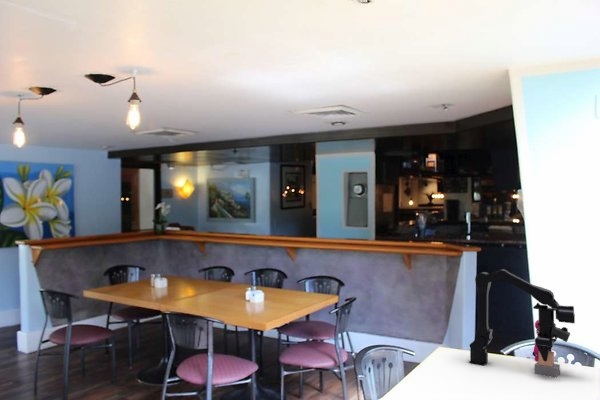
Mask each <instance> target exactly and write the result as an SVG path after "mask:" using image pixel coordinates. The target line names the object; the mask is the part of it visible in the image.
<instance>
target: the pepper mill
mask: <svg viewBox="0 0 600 400" xmlns="http://www.w3.org/2000/svg"><path fill="white" fill-rule="evenodd" d="M538 322H539V319H538V320H536V321H535V322H534V327H535V329H536V330H535V334H536V337H538V332H539V326H538ZM551 352H553V350H551ZM533 353H534V354H535V356H534V361H535V360H536V361H535V362H537V361H539V350H538V348H537V346H536V344H535V343H534V346H533Z"/></svg>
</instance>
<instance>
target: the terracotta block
mask: <svg viewBox="0 0 600 400" xmlns="http://www.w3.org/2000/svg"><path fill="white" fill-rule="evenodd" d="M551 351H552V350H551ZM551 351H549V353H548V358H547V361H544V360H543V358H542V356H541V354H540V352H539V365H544V366H550V367H553V365H554V364H555V351H552V352H551Z"/></svg>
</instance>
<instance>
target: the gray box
mask: <svg viewBox="0 0 600 400" xmlns="http://www.w3.org/2000/svg"><path fill="white" fill-rule="evenodd" d="M560 366H561V365H560V364H558V363H554V365H553V367H550V366H544V365H539V361H538V362H537V361H536V362H535V363H534V374H535V375H539V376H544V375H545V377H549V376H551V378H555V377H556V378H555V379H557V378H558V377H559V375H560V374H561V370H560V369H561V367H560Z"/></svg>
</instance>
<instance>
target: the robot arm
mask: <svg viewBox="0 0 600 400" xmlns="http://www.w3.org/2000/svg"><path fill="white" fill-rule="evenodd" d="M474 278H475V279H474V281H475V287H476V289H477V293H478V295H477V296H478V297H477V298H478V300H477V301H478V306H477V307H478V308H477V309H478V311H477V314H478V316H477V318H478V319H477V320H478V323H477V328H476V332H475V335H474V340H473V341H472V342H471V343H470V344H469V348H470V349H469V351H470V355H469V356H470V359H469V364H475V365H480V366H485V365H486V364H487V363H489V356H488V355H489V352H487V350H488V349H487V348H486V347H487V346H488V345H489V344H490V343H491V341H492V339H494V337H493V331H494V329H492V328H490V327H489V292H490V289H491V285H492V283H493V282H496V281H500V280H503V281H505V282H507V283H508V284H511V285H513V286H514V287H515V288H516V287H517V288H518V289H520V290H522V291H524V292H525V293H527V294H528V295H530V296H531V297H532V298H533V299H535V300H536V301H537V302H536V304H535V305H534V306H533V309H534V310H538V320H539V322H538V326H539V332H538V337H537V336H536V337H535V339H534V345H535V344H536V346H537V348H538V350H539V352H540V354H541V356H542V358H543V360H544V361H547V358H548V353H549V351H552V348H553V347H554V343H556V341H557V340H558V339H559V340H562V341H563V342H566V343H567V342H568V340H569V338H570V336H571V333H570V331H569V330H568V328H567V327H565V326H562V327H561V328H560V327H557V326H556V323H555V319H556V320H557V321H558V322H559V323H567V324H574V325H575V323H576V317H575V316H576V314H575V307H574V305H560V303H559V302H558V301H557V300H556V298H555V295H554V292H553V291H551V290H550V289H548V288H544V287H541V286H537V285H534V284H533V283H530V282H528V281H526V280H525V279H522V278H521V277H519V276H517V275H515V274H514V273H511V272H509V271H508V270H506V269H505V268H503V269H499V270H496V271H492V272H488V271H487V272H486V271H483V272H480V273H477V275H476V276H475V277H474Z"/></svg>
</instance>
